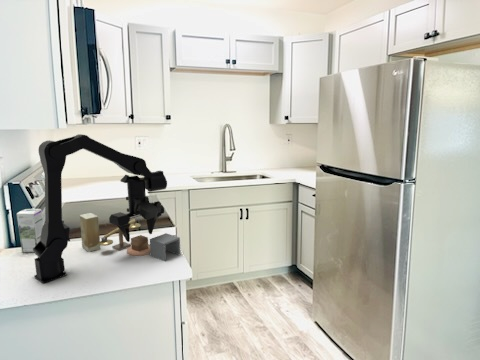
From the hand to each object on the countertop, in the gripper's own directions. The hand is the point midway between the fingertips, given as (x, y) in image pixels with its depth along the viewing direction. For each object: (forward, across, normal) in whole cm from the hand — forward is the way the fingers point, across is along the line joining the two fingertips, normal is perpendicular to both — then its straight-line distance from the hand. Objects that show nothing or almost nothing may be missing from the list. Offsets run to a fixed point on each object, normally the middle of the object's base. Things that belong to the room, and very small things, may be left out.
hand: (139, 237), depth 120 cm
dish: (+5, 0, 0) cm, 5 cm away
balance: (+5, -2, +8) cm, 10 cm away
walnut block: (+4, 0, 0) cm, 4 cm away
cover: (+5, +3, -10) cm, 11 cm away
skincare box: (+5, -9, +16) cm, 19 cm away
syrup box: (+5, -22, +31) cm, 38 cm away
